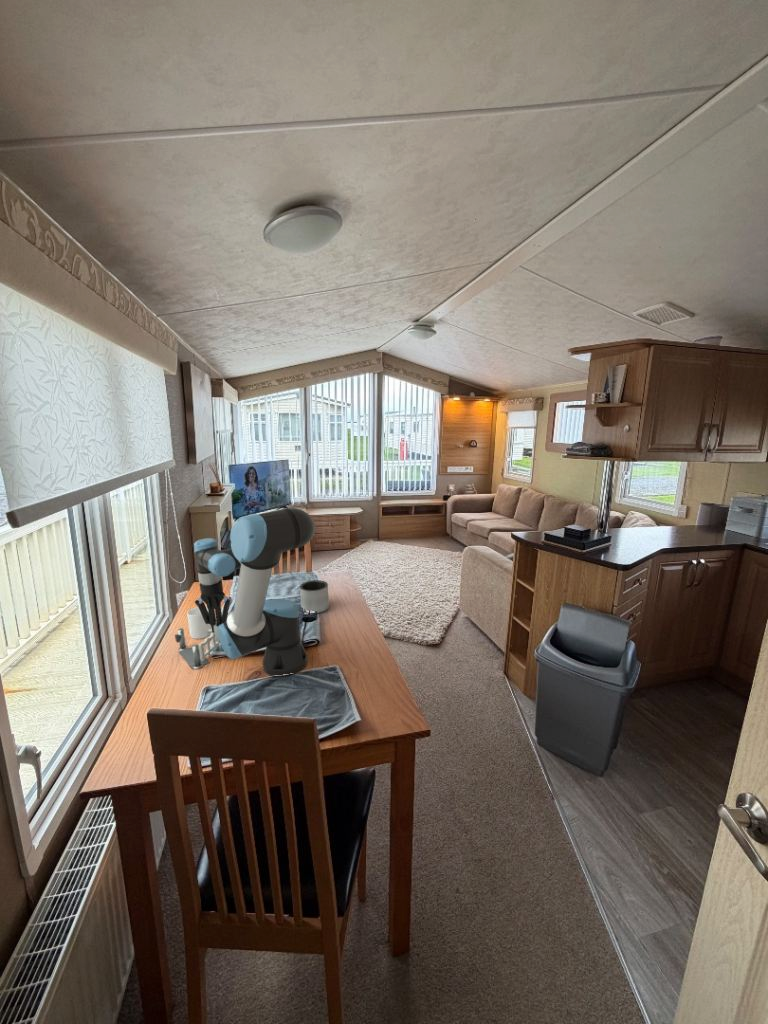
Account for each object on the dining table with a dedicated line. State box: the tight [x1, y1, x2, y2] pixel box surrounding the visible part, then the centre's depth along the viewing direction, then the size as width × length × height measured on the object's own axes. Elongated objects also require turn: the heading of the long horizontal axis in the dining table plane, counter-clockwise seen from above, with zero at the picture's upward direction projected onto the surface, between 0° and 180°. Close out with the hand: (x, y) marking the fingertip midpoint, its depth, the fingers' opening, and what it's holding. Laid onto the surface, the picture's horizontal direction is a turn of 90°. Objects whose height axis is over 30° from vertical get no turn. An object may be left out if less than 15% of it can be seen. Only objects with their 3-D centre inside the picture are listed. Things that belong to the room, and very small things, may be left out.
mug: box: [186, 606, 217, 640], centre depth 168 cm, size 12×8×10 cm
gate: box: [198, 632, 220, 661], centre depth 154 cm, size 12×1×7 cm, turn 169°
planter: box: [299, 579, 330, 614], centre depth 189 cm, size 13×12×11 cm
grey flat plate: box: [178, 646, 211, 670], centre depth 153 cm, size 15×6×1 cm, turn 42°
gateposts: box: [174, 627, 204, 670], centre depth 152 cm, size 19×4×8 cm, turn 42°
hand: (218, 639), depth 157 cm, fingers closed
